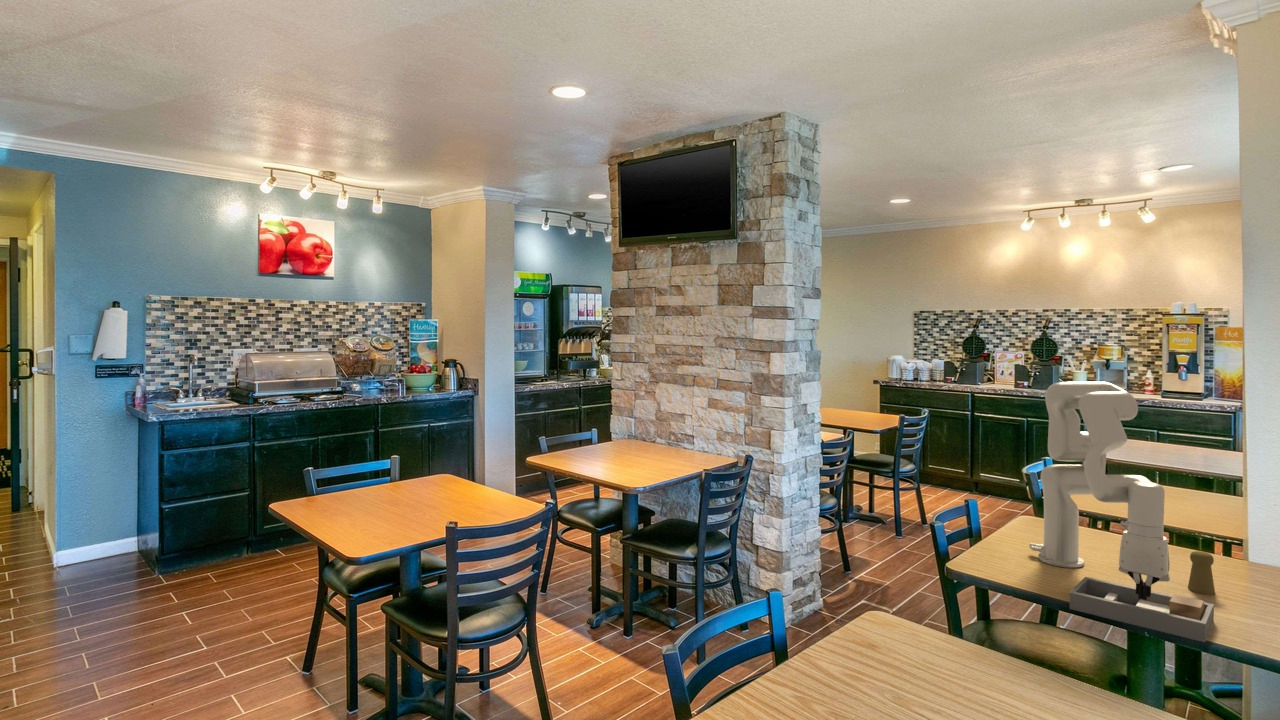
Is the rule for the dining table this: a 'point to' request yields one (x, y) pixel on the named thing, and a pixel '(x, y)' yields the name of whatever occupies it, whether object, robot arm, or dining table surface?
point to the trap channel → (1137, 608)
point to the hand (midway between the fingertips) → (1143, 598)
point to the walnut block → (1186, 607)
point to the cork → (1201, 573)
